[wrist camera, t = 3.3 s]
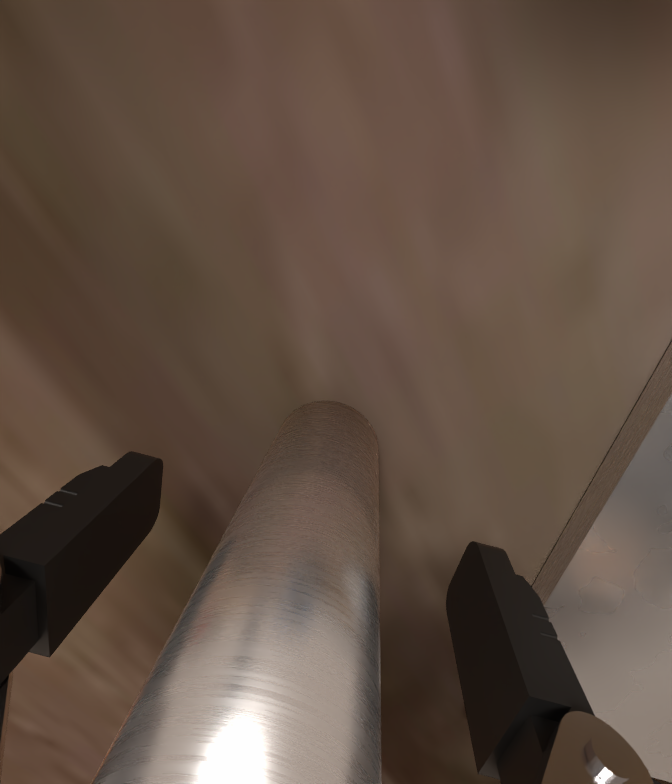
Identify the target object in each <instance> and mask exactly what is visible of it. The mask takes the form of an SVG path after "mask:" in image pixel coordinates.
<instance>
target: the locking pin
mask: <svg viewBox="0 0 672 784" xmlns="http://www.w3.org/2000/svg"><path fill="white" fill-rule="evenodd" d="M91 784H382V783H381V676H380V568H379V461H378V441H377V437H376V434H375V431H374V429H373V427H372V426H371V424H370V423H369V422H368V420H367V419H366V418H365V417H364V416H363V415H362V414H360V413H359V412H358V411H356V410H355V409H353V408H351V407H349V406H347V405H345V404H342V403H338V402H333V401H317V402H312V403H309V404H306V405H303V406H301V407H299V408H298V409H296V410H295V411H293V412H292V413H291V414H290V415H289V416H288V417H287V418H286V420H285V421H284V423H283V424H282V426H281V428H280V430H279V432H278V434H277V435H276V437H275V439H274V441H273V443H272V445H271V447H270V449H269V450H268V452H267V454H266V456H265V458H264V460H263V462H262V464H261V465H260V467H259V469H258V471H257V473H256V475H255V477H254V479H253V480H252V482H251V484H250V486H249V488H248V490H247V492H246V494H245V495H244V497H243V499H242V501H241V503H240V505H239V507H238V509H237V510H236V512H235V514H234V516H233V518H232V520H231V522H230V524H229V525H228V527H227V529H226V531H225V533H224V535H223V537H222V539H221V540H220V542H219V544H218V546H217V548H216V550H215V552H214V554H213V555H212V557H211V559H210V561H209V563H208V565H207V567H206V569H205V570H204V572H203V574H202V576H201V578H200V580H199V582H198V584H197V585H196V587H195V589H194V591H193V593H192V595H191V597H190V599H189V600H188V602H187V604H186V606H185V608H184V610H183V612H182V614H181V615H180V617H179V619H178V621H177V623H176V625H175V627H174V629H173V631H172V632H171V634H170V636H169V638H168V640H167V642H166V644H165V646H164V647H163V649H162V651H161V653H160V655H159V657H158V659H157V661H156V662H155V664H154V666H153V668H152V670H151V672H150V674H149V676H148V677H147V679H146V681H145V683H144V685H143V687H142V689H141V691H140V692H139V694H138V696H137V698H136V700H135V702H134V704H133V706H132V707H131V709H130V711H129V713H128V715H127V717H126V719H125V721H124V722H123V724H122V726H121V728H120V730H119V732H118V734H117V736H116V737H115V739H114V741H113V743H112V745H111V747H110V749H109V751H108V752H107V754H106V756H105V758H104V760H103V762H102V764H101V766H100V767H99V769H98V771H97V773H96V775H95V777H94V779H93V781H92V782H91Z"/></svg>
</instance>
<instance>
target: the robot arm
mask: <svg viewBox="0 0 672 784" xmlns="http://www.w3.org/2000/svg"><path fill="white" fill-rule="evenodd" d="M162 473H163V462H162V460H161V459H159V458H155V457H152V456H148V455H144V454H140V453H136V452H132V451H131V452H128V453H127V454H125V455H124V456H123V457H122V458H120V459H119V460H118V461H117V462H116V463H114V464H113V465H112V466H111V467H107V466H103V465H102V466H99V467H97V468H94V469H92V470H89V471H87V472H84V473H82V474H79V475H78V476H76V477H75V478H74V479H72V480H71V481H70V482H69V483H67V484H66V485H65V486H63V487H62V488H61V490H60V491H59V492H58V491H57V492H55V493H54V494H53V495H51V496H50V497H49V498H48V499H46V500H45V503H44V504H43V503H41V504H40V505H38V506H37V507H36V508H34V509H33V510H32V511H30V512H29V513H28V514H27V515H25V516H24V517H23V518H21V519H20V520H19V521H17V522H16V523H15V524H13V525H12V526H11V527H9V528H8V529H7V530H6V531H4V532H3V533H2V534H0V782H1V774H2V765H3V757H4V748H5V740H6V731H7V723H8V714H9V705H10V697H11V688H12V680H13V669H14V668H15V667H16V666H17V665H18V663H19V662H20V661H21V660H22V659H23V658H24V656H25V655H26V654H27V653H28V652H31V653H35V654H38V655H42V656H46V657H50V656H51V655H52V654H53V653H54V651H55V650H56V649H57V648H58V646H59V645H60V644H61V643H62V641H63V640H64V639H65V638H66V636H67V635H68V634H69V633H70V631H71V630H72V629H73V628H74V626H75V625H76V624H77V623H78V621H79V620H80V619H81V618H82V616H83V615H84V614H85V613H86V611H87V610H88V609H89V607H90V606H91V605H92V604H93V602H94V601H95V600H96V599H97V597H98V596H99V595H100V594H101V592H102V591H103V590H104V589H105V587H106V586H107V585H108V584H109V582H110V581H111V580H112V579H113V577H114V576H115V575H116V574H117V572H118V571H119V570H120V569H121V567H122V566H123V565H124V564H125V562H126V561H127V560H128V559H129V557H130V556H131V555H132V554H133V552H134V551H135V550H136V549H137V547H138V546H139V545H140V544H141V542H142V541H143V540H144V539H145V537H146V536H147V535H148V534H149V532H150V531H151V529H152V527H153V526H154V524H155V521H156V519H157V516H158V513H159V508H160V497H161V485H162ZM446 610H447V616H448V621H449V627H450V632H451V637H452V642H453V647H454V653H455V658H456V663H457V668H458V673H459V678H460V684H461V689H462V694H463V699H464V704H465V709H466V715H467V720H468V725H469V730H470V735H471V741H472V746H473V751H474V756H475V761H476V766H477V772H478V774H481V775H484V776H488V777H492V778H496V779H500V781H501V784H661V783H659V782H657V781H656V780H654V779H653V778H651V776H650V774H649V772H648V770H647V768H646V766H645V765H644V763H643V761H642V760H641V758H640V757H639V756H638V754H637V753H636V752H635V750H634V749H633V748H632V747H631V746H630V744H629V743H628V742H627V741H626V740H625V739H624V738H623V737H622V736H621V735H620V734H619V733H618V732H617V731H616V730H614V729H613V728H612V727H611V726H609V725H608V724H607V723H605V722H604V721H602V720H601V719H599V718H597V717H595V715H594V713H593V710H592V708H591V706H590V704H589V702H588V700H587V698H586V695H585V693H584V691H583V689H582V687H581V685H580V683H579V680H578V678H577V676H576V674H575V672H574V670H573V668H572V665H571V663H570V661H569V659H568V657H567V655H566V653H565V650H564V648H563V646H562V644H561V642H560V641H559V640H558V639H557V637H558V635H557V633H556V631H555V629H554V627H553V625H552V623H551V622H549V616H548V614H547V612H546V610H545V608H544V606H543V603H542V601H541V599H540V597H539V596H538V594H537V593H536V592H535V591H534V590H533V588H532V587H531V586H530V585H529V583H528V582H527V581H526V580H525V579H524V577H523V576H519V575H516V574H515V572H514V570H513V568H512V565H511V563H510V561H509V558H508V556H507V554H506V552H505V551H504V550H503V549H501V548H497V547H493V546H489V545H485V544H481V543H478V542H474V541H473V542H470V543H469V545H468V546H467V548H466V550H465V552H464V554H463V556H462V559H461V561H460V563H459V565H458V567H457V569H456V572H455V574H454V576H453V578H452V580H451V582H450V585H449V588H448V592H447V598H446Z"/></svg>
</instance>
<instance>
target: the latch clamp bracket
mask: <svg viewBox="0 0 672 784" xmlns="http://www.w3.org/2000/svg"><path fill="white" fill-rule="evenodd" d="M532 588H533V590H534V591H535V592H536V593H537V594H538V596H539V597H540V599H541V601H542V603H543V606H544V608H545V610H546V612H547V614H548V616H549V622H551V623H552V625H553V627H554V629H555V631H556V633H557V635H558V637H557V639H558V640H559V641H560V642H561V644H562V646H563V648H564V650H565V653H566V655H567V657H568V659H569V661H570V663H571V665H572V668H573V670H574V672H575V674H576V676H577V678H578V680H579V683H580V685H581V687H582V689H583V691H584V693H585V695H586V698H587V700H588V702H589V704H590V706H591V708H592V710H593V713H594V715H595V717H597V718H599V719H601V720H602V721H604V722H605V723H607V724H608V725H609V726H611V727H612V728H613V729H614V730H616V731H617V732H618V733H619V734H620V735H621V736H622V737H623V738H624V739H625V740H626V741H627V742H628V743H629V744H630V746H631V747H632V748H633V749H634V750H635V752H636V753H637V754H638V756H639V757H640V758H641V760H642V761H643V763H644V765H645V766H646V768H647V770H648V772H649V774H650V776H651V777H653V778H656V779H660V780H664V781H668V782H671V783H672V342H671V344H670V345H669V347H668V349H667V351H666V352H665V354H664V356H663V358H662V359H661V361H660V363H659V365H658V366H657V368H656V370H655V372H654V373H653V375H652V377H651V379H650V380H649V382H648V384H647V386H646V387H645V389H644V391H643V393H642V394H641V396H640V398H639V400H638V402H637V403H636V405H635V407H634V409H633V410H632V412H631V414H630V416H629V417H628V419H627V421H626V423H625V424H624V426H623V428H622V430H621V431H620V433H619V435H618V437H617V438H616V440H615V442H614V444H613V445H612V447H611V449H610V451H609V452H608V454H607V456H606V458H605V459H604V461H603V463H602V465H601V466H600V468H599V470H598V472H597V473H596V475H595V477H594V479H593V480H592V482H591V484H590V486H589V487H588V489H587V491H586V493H585V494H584V496H583V498H582V500H581V501H580V503H579V505H578V507H577V508H576V510H575V512H574V514H573V515H572V517H571V519H570V521H569V522H568V524H567V526H566V528H565V529H564V531H563V533H562V535H561V536H560V538H559V540H558V542H557V543H556V545H555V547H554V549H553V550H552V552H551V554H550V556H549V557H548V559H547V561H546V563H545V564H544V566H543V568H542V570H541V571H540V573H539V575H538V577H537V578H536V580H535V582H534V584H533V585H532Z"/></svg>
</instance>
